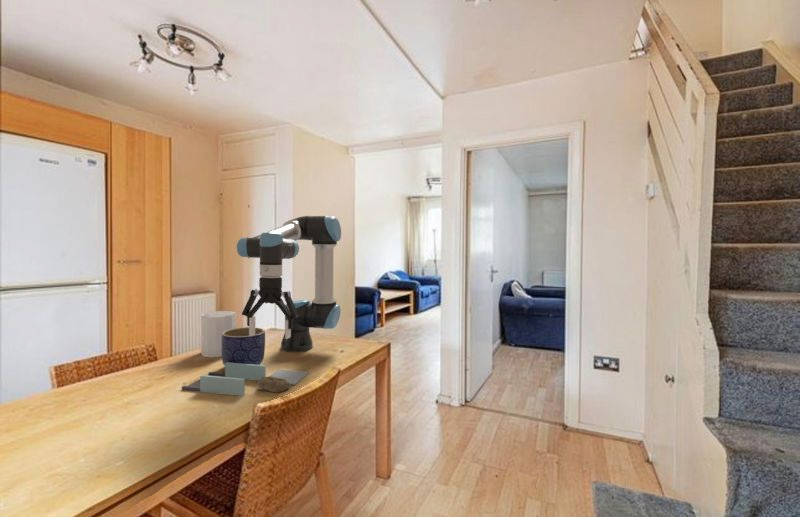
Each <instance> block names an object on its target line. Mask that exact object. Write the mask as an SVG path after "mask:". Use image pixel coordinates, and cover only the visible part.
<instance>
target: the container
mask: <svg viewBox="0 0 800 517" xmlns="http://www.w3.org/2000/svg"><path fill="white" fill-rule="evenodd" d="M200 315H201V319H200V321H201V322H200V323H201V329H200V330H201V331H200V334H201V336H200V338H201V339H200V345H201V346H200V348H201V349H200V354H201V356H202V357H205V358H220V357H221V358H222V354H221V336H222V333H223V332H224V331H226V330H230V329H235V328H237V312H236V311H230V310H217V311H215V310H214V311H208V312H204V313H202V314H200Z"/></svg>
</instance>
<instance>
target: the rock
mask: <svg viewBox="0 0 800 517" xmlns="http://www.w3.org/2000/svg"><path fill="white" fill-rule="evenodd" d="M268 376H269V377H268ZM268 376H266V377H262V378H261V379H260V380H258V382H257V387H258V389H259V390H262V391H267V392H268V391H269V392H271V393H281V392H284V391H286V390H288V389H290V388H291V386H292V385H291V384H290V383H289V382H287V381H286V380H285V379H280V378H277V377H273V376H270V375H268Z"/></svg>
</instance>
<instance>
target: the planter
mask: <svg viewBox="0 0 800 517" xmlns="http://www.w3.org/2000/svg"><path fill="white" fill-rule="evenodd" d="M265 350H266V331H265V329H263V328H260V327H255V335H253V336H249V326H247V327H244V326H243V327H236V328H235V329H230V330H226V331H224V332H223V333H222V336H221V354H222V357H221V362H222V364H223V366H224V367H225V363H226V362H230V363H242V364H254V365H262V363H263V360H264V358H265V352H266V351H265Z"/></svg>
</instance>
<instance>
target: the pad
mask: <svg viewBox="0 0 800 517" xmlns="http://www.w3.org/2000/svg"><path fill="white" fill-rule="evenodd" d="M309 373H310V372H309V371H302V370H289V369H278V368H277V369H276V370H275V371H274V372H273V373H271V374H269V375H268V376H267V377H269V376H273V377H277V378H280V379H285V380H286V381H287V382H289V383H290V384H291V385H290V386H292V387H293V386H297V385H298V383H300V382H301V381H302V380H303V379H304V378H306V377H307V375H309Z"/></svg>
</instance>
